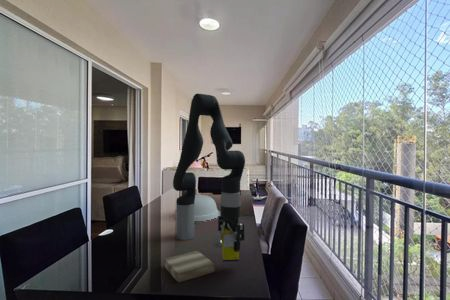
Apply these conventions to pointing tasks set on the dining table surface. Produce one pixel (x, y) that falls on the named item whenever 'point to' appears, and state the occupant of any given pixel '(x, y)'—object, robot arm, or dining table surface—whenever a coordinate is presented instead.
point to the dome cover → (204, 208)
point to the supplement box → (228, 247)
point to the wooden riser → (188, 266)
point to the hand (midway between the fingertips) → (230, 247)
